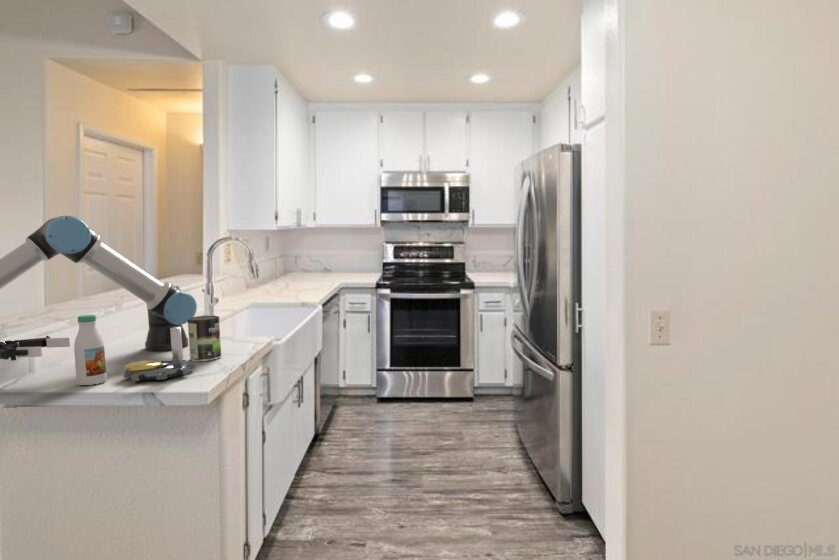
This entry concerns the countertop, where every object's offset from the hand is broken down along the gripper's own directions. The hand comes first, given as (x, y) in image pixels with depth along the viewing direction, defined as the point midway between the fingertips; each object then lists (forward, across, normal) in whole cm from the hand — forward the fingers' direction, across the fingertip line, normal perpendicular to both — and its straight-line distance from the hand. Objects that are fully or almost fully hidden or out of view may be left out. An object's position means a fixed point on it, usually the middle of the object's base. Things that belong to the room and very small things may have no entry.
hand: (55, 346), depth 173 cm
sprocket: (+27, -6, -11) cm, 30 cm away
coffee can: (+33, -29, -11) cm, 45 cm away
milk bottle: (+10, 0, -11) cm, 15 cm away
